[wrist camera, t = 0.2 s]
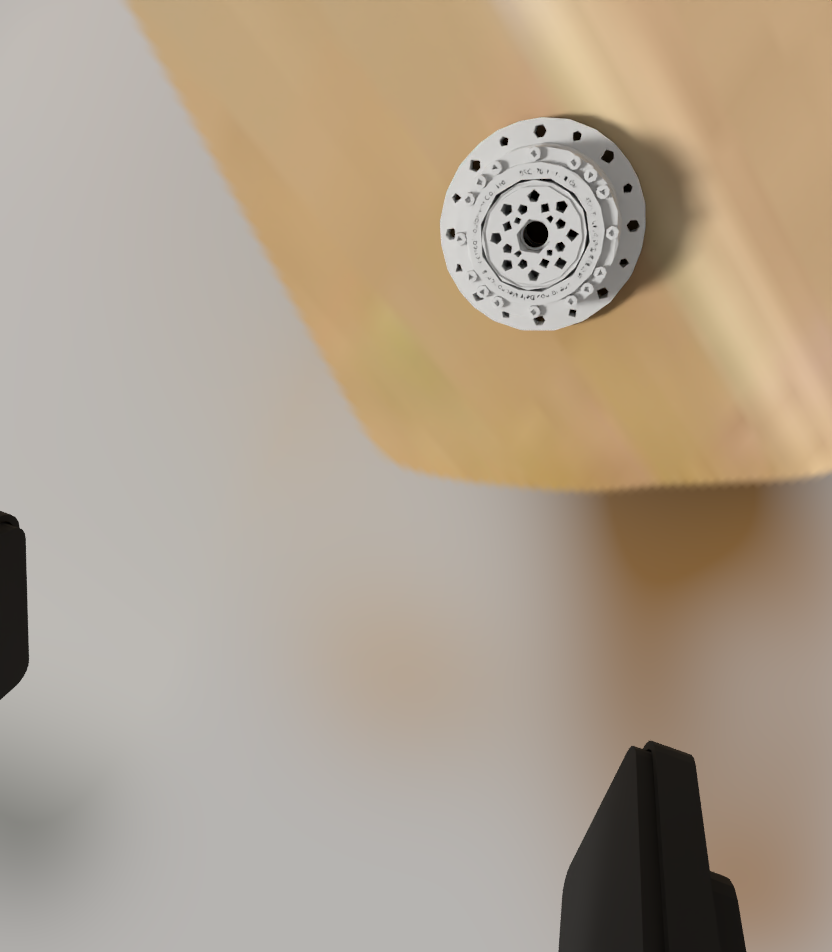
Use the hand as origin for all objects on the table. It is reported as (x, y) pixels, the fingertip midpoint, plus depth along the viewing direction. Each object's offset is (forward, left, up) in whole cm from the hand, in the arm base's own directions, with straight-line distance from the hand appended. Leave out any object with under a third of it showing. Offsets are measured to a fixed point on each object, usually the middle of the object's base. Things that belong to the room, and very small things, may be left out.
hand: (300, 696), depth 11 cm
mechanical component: (-4, 0, -32) cm, 32 cm away
